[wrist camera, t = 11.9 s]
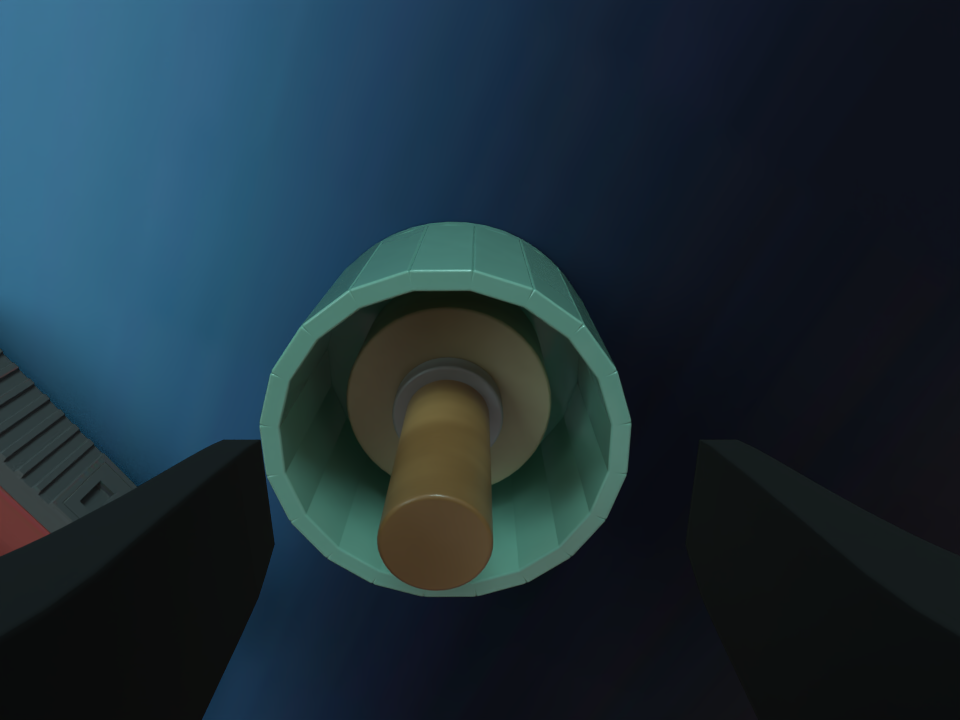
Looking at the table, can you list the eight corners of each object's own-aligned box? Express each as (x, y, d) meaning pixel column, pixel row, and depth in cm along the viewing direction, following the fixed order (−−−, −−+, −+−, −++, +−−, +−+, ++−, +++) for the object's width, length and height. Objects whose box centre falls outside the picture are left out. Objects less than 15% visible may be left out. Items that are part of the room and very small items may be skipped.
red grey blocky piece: (-325, 395, 18) (184, 814, 24) (-561, 482, 14) (123, 961, 20) (-113, 213, 16) (378, 715, 22) (-313, 252, 12) (355, 854, 18)
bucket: (647, 328, 17) (708, 412, 13) (485, 517, 20) (487, 649, 15) (416, 160, 16) (391, 186, 11) (269, 386, 18) (195, 487, 13)
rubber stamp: (571, 318, 17) (636, 474, 10) (500, 465, 18) (512, 692, 11) (399, 249, 16) (337, 365, 9) (340, 408, 18) (249, 611, 11)
